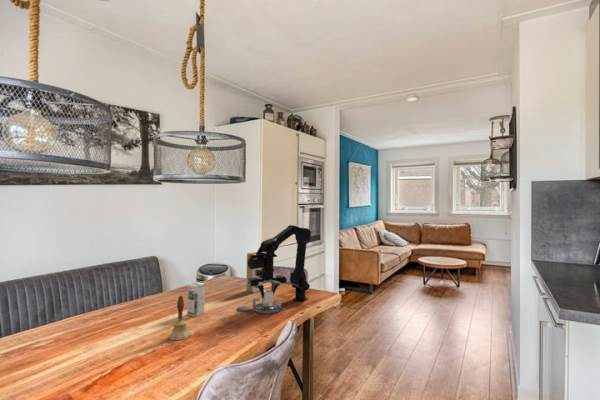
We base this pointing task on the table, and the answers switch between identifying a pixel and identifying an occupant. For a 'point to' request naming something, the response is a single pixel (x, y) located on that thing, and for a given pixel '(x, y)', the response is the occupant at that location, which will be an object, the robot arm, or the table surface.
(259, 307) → the lugged metal disc
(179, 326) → the hand bell
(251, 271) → the juice carton
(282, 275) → the robot arm
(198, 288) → the syrup box
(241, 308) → the rubber pad
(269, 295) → the cream block with tab
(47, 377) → the table surface
